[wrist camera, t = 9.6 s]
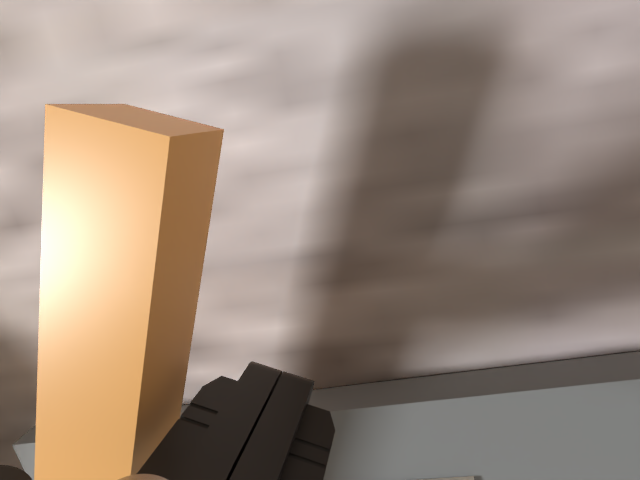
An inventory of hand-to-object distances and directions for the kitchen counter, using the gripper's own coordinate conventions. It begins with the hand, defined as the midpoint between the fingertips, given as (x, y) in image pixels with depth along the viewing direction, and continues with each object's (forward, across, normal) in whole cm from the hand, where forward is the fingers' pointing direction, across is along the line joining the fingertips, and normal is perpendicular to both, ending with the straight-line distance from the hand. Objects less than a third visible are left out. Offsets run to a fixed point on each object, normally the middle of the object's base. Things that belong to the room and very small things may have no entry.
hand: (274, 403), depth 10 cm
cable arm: (0, +3, +4) cm, 5 cm away
